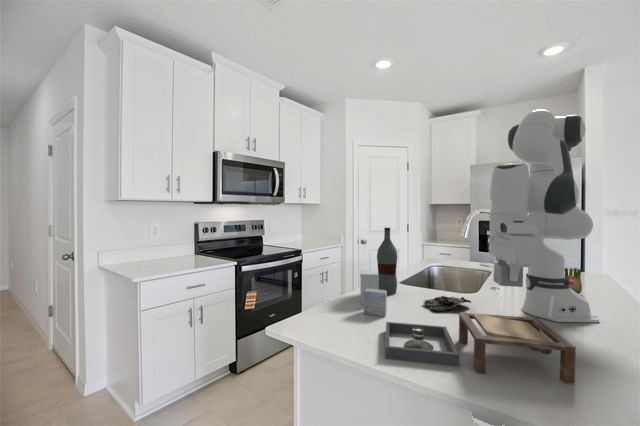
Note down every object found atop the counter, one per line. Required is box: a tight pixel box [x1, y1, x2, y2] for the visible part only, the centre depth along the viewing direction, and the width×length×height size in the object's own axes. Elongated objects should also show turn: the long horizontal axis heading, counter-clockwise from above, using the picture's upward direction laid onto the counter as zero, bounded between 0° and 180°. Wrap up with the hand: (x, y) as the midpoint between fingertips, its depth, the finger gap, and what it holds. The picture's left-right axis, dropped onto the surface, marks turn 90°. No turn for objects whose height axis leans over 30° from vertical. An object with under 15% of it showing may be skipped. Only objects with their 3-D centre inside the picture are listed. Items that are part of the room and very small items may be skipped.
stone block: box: [493, 262, 524, 288], centre depth 80 cm, size 5×5×5 cm
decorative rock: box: [423, 295, 473, 312], centre depth 122 cm, size 19×6×15 cm
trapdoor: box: [473, 313, 553, 355], centre depth 80 cm, size 15×13×3 cm
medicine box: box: [363, 289, 388, 317], centre depth 113 cm, size 8×4×9 cm, turn 71°
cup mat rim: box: [385, 321, 460, 367], centre depth 87 cm, size 18×18×3 cm
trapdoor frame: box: [458, 312, 577, 384], centre depth 80 cm, size 21×18×8 cm
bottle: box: [376, 227, 398, 296], centre depth 141 cm, size 9×9×30 cm
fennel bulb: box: [564, 267, 583, 295], centre depth 139 cm, size 6×5×12 cm
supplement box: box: [359, 270, 379, 305], centre depth 127 cm, size 7×7×13 cm
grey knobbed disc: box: [404, 327, 434, 350], centre depth 87 cm, size 12×12×5 cm
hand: (507, 277), depth 80 cm, fingers closed on stone block, 5 cm apart
